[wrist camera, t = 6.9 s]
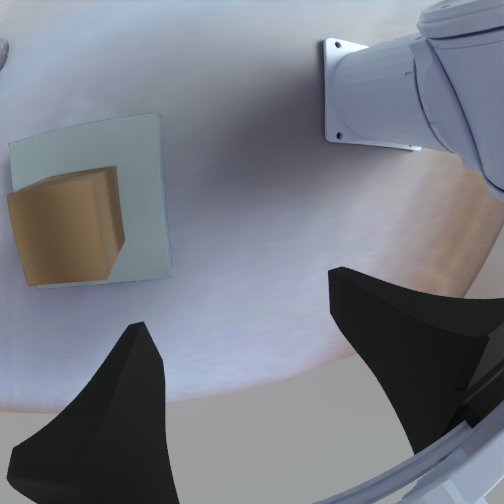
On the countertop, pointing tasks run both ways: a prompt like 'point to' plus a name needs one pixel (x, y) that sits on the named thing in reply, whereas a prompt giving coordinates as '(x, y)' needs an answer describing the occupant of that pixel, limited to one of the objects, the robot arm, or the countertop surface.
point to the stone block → (3, 52)
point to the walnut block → (68, 226)
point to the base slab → (129, 184)
